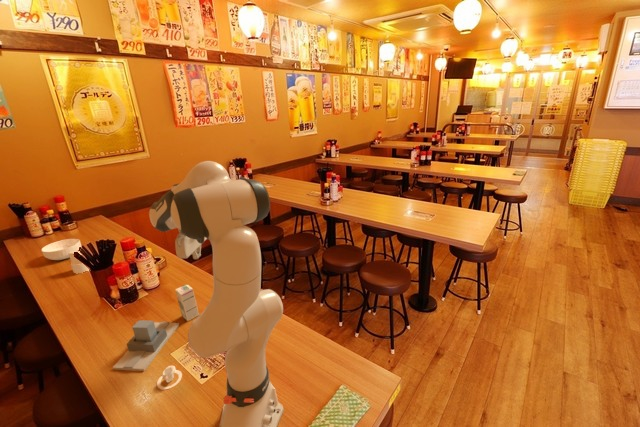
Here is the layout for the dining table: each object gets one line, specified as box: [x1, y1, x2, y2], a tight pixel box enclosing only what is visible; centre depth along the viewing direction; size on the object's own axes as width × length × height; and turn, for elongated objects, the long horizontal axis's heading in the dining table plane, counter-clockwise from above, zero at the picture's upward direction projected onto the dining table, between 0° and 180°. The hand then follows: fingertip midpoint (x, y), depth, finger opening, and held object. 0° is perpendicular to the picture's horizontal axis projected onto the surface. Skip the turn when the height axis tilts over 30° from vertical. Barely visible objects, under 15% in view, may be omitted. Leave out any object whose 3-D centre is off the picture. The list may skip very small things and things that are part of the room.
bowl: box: [40, 238, 82, 261], centre depth 198 cm, size 20×20×8 cm
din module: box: [131, 319, 157, 342], centre depth 118 cm, size 4×7×9 cm, turn 85°
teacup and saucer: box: [156, 365, 183, 391], centre depth 104 cm, size 9×8×4 cm
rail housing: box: [112, 321, 180, 372], centre depth 120 cm, size 24×12×4 cm, turn 175°
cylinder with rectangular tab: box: [68, 250, 90, 275], centre depth 178 cm, size 9×9×12 cm
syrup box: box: [175, 283, 200, 322], centre depth 134 cm, size 6×6×14 cm
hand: (197, 257), depth 117 cm, fingers closed
